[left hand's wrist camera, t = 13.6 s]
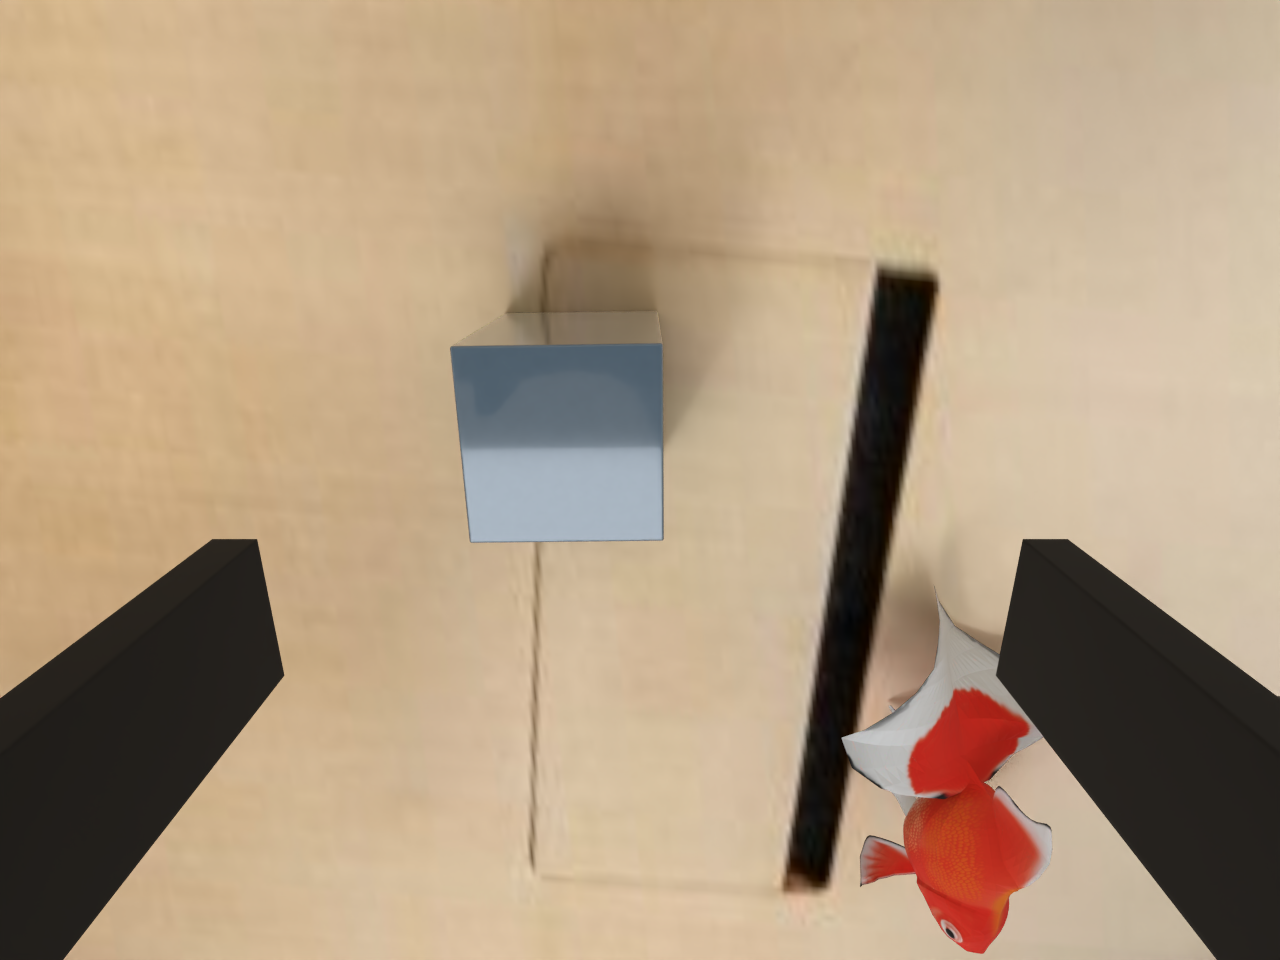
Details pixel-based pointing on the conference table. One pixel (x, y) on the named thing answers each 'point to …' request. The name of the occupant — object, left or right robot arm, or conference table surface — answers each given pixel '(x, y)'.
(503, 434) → the brick
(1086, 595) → the left robot arm
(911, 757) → the fish
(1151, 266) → the conference table surface
